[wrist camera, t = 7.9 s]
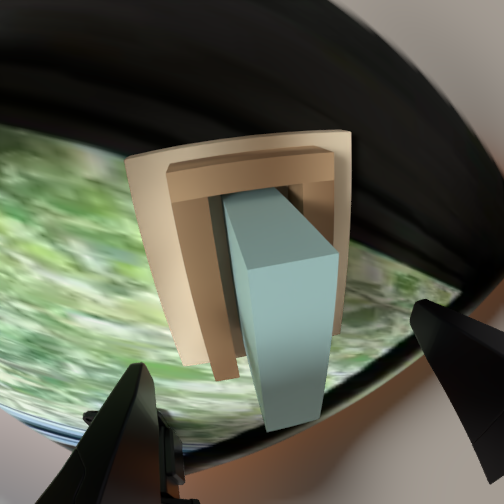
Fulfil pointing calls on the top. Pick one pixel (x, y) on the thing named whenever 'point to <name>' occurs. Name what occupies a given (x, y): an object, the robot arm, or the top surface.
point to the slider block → (282, 302)
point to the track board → (213, 228)
